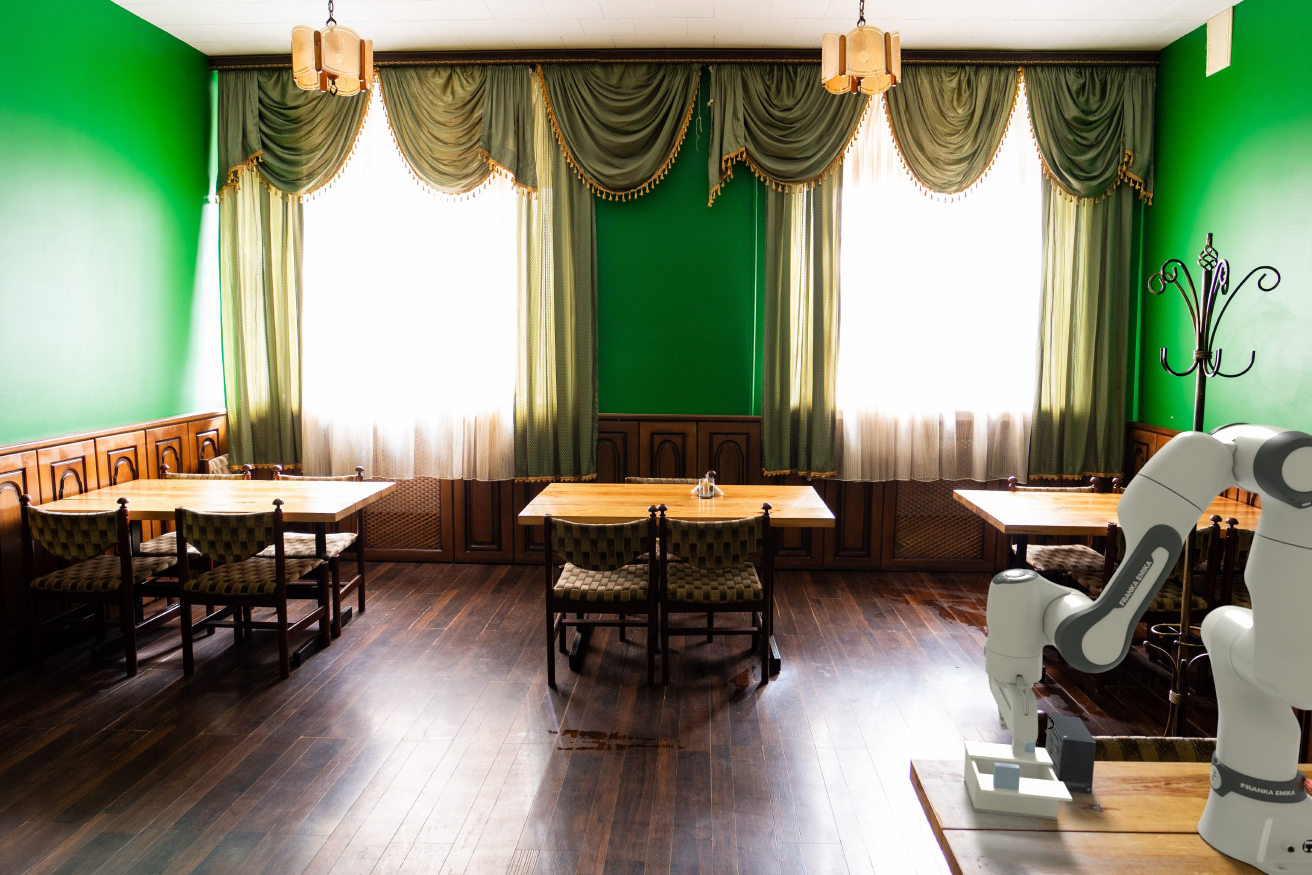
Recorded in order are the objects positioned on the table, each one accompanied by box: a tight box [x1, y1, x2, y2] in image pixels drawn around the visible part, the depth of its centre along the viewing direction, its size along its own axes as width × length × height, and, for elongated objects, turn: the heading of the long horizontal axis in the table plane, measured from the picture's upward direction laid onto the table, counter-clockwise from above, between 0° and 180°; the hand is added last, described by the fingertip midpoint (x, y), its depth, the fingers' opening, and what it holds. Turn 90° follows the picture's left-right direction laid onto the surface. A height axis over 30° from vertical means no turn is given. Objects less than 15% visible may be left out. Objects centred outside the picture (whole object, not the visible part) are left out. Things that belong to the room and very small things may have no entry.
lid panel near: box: [975, 763, 1073, 802], centre depth 142 cm, size 15×5×4 cm, turn 79°
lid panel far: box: [963, 736, 1053, 765], centre depth 154 cm, size 15×5×4 cm, turn 79°
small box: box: [1044, 713, 1097, 794], centre depth 159 cm, size 11×6×10 cm, turn 168°
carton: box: [963, 748, 1060, 821], centre depth 152 cm, size 14×11×7 cm
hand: (1011, 740), depth 141 cm, fingers open, 8 cm apart
